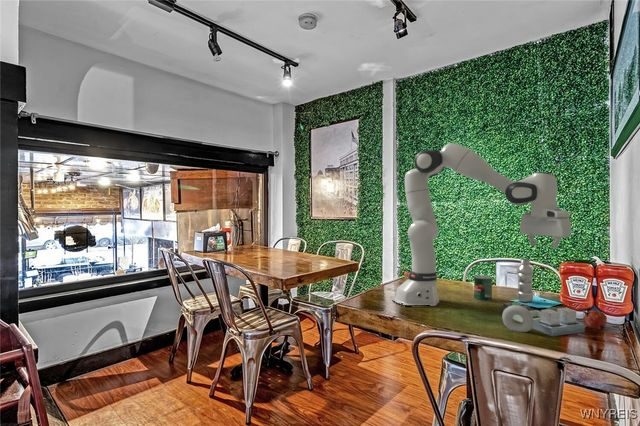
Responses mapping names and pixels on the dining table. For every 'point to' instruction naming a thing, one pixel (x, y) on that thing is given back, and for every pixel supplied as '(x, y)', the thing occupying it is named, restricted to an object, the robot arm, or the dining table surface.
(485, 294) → the canned tomato
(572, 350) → the dining table surface
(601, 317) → the pomegranate
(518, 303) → the button
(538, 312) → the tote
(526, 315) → the donut
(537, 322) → the pallet
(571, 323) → the block
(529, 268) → the plastic bottle
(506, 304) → the console
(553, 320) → the billet
